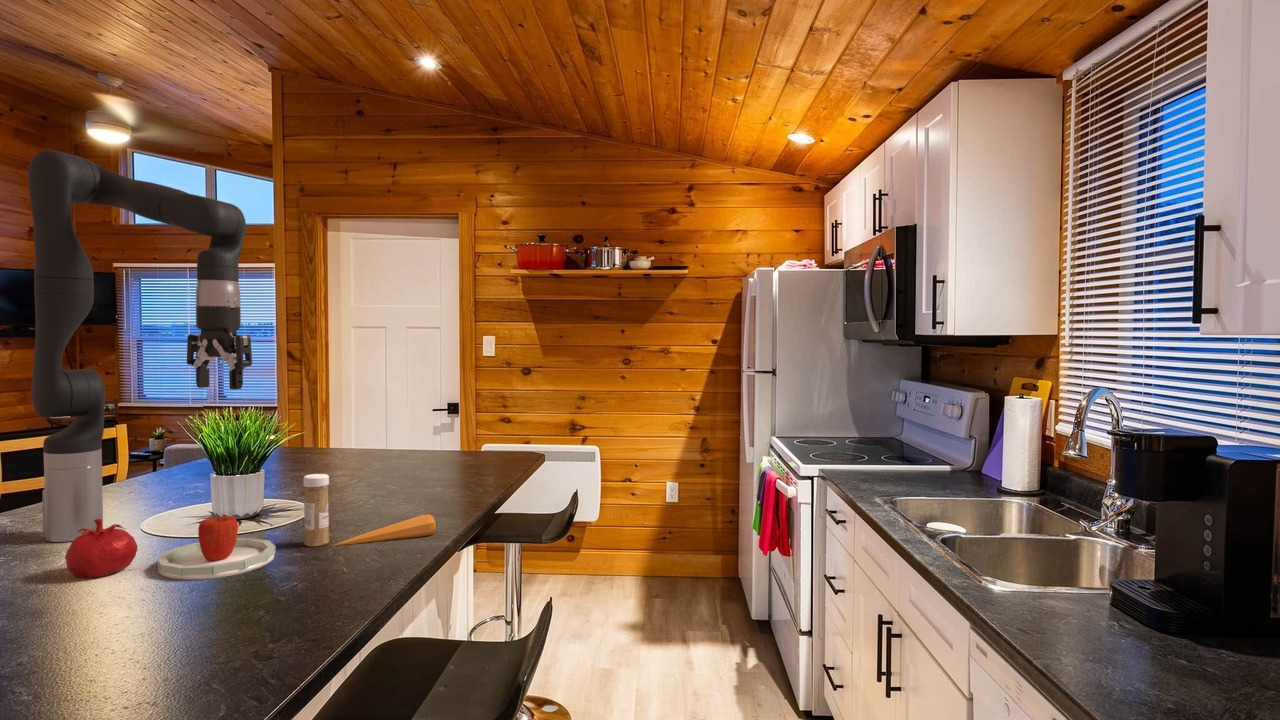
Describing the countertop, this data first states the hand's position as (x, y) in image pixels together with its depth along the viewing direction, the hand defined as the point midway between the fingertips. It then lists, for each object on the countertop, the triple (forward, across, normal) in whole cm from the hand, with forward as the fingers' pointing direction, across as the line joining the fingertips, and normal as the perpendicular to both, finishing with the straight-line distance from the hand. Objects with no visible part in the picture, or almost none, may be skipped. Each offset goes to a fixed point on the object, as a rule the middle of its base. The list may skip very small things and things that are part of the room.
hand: (219, 388), depth 146 cm
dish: (+30, +11, -10) cm, 34 cm away
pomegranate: (+30, -3, -21) cm, 37 cm away
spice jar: (+30, +18, +6) cm, 36 cm away
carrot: (+30, +28, +14) cm, 44 cm away
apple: (+30, +11, -10) cm, 33 cm away
